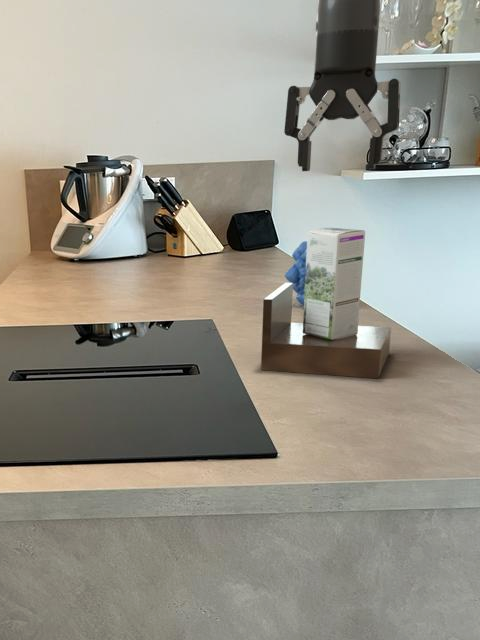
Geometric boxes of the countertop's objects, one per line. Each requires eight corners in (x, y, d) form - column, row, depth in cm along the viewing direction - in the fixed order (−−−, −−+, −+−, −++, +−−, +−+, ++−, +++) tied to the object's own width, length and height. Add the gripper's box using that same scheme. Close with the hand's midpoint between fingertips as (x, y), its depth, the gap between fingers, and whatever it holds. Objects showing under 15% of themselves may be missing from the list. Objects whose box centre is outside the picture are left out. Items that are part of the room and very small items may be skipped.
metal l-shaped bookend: (388, 353, 117) (395, 286, 113) (378, 378, 106) (385, 303, 102) (282, 347, 123) (285, 282, 119) (260, 370, 111) (263, 299, 108)
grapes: (273, 301, 158) (275, 239, 154) (305, 299, 159) (308, 238, 154) (293, 312, 148) (296, 246, 143) (327, 310, 148) (332, 244, 144)
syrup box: (359, 334, 112) (368, 228, 106) (330, 341, 109) (338, 232, 103) (328, 328, 116) (335, 226, 111) (300, 334, 114) (306, 229, 108)
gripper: (409, 28, 98) (397, 167, 105) (295, 38, 104) (290, 170, 110) (404, 21, 92) (391, 169, 98) (283, 32, 97) (278, 172, 104)
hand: (338, 170), depth 104 cm, fingers open, 8 cm apart
